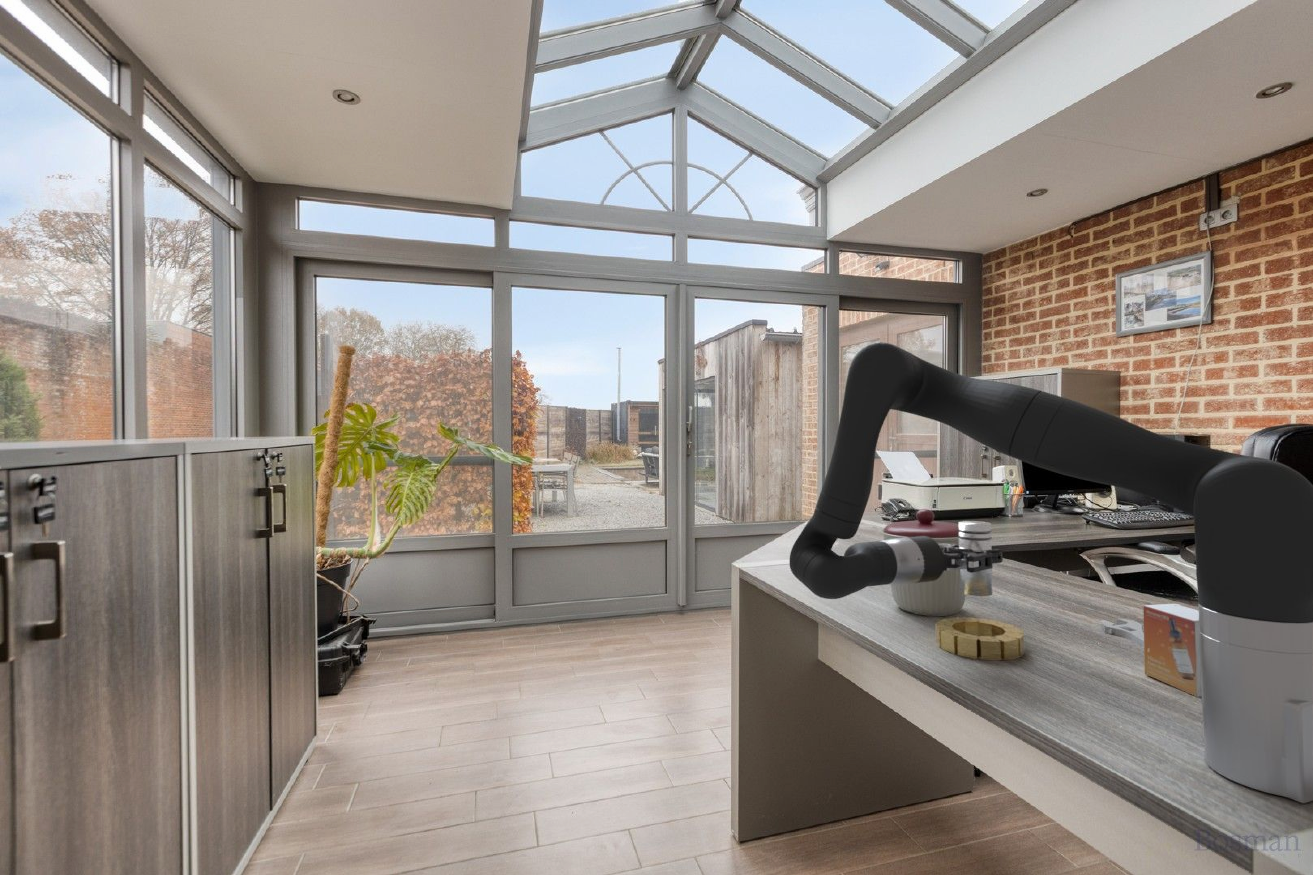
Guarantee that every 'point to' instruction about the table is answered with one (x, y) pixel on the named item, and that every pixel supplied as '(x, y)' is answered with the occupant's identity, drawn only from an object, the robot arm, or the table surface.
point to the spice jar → (976, 539)
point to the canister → (934, 594)
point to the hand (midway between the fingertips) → (986, 552)
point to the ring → (980, 638)
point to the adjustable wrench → (1125, 630)
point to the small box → (1173, 646)
